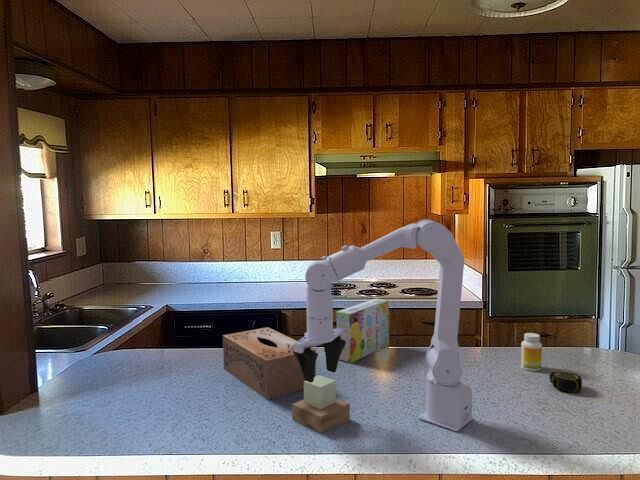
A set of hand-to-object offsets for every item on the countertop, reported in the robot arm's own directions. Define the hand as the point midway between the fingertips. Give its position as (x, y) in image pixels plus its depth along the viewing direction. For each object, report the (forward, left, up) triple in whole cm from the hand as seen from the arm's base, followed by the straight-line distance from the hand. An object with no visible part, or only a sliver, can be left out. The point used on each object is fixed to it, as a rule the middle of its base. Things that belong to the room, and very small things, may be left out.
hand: (320, 376), depth 113 cm
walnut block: (-1, +1, -10) cm, 10 cm away
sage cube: (0, 0, -6) cm, 6 cm away
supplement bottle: (-25, -61, -10) cm, 67 cm away
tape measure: (-36, -52, -10) cm, 64 cm away
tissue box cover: (+27, -9, -10) cm, 30 cm away
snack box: (+19, -42, -10) cm, 47 cm away
